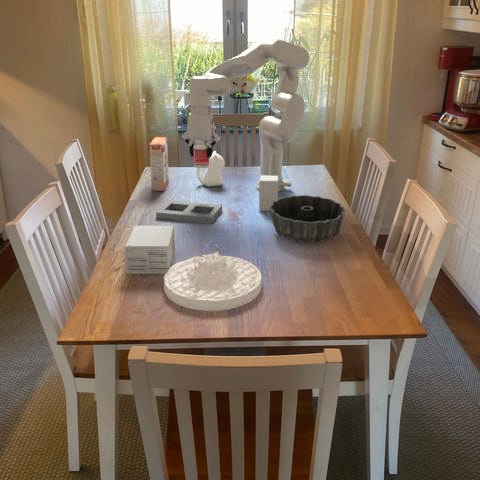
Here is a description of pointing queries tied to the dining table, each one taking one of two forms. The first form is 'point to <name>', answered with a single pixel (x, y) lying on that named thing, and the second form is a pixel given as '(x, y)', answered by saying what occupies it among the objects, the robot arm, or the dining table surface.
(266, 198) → the supplement box
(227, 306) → the cake
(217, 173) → the cat figurine
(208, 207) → the rail
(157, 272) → the supplement box
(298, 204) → the bundt pan
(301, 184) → the dining table surface
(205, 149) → the pill bottle
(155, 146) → the cracker box
